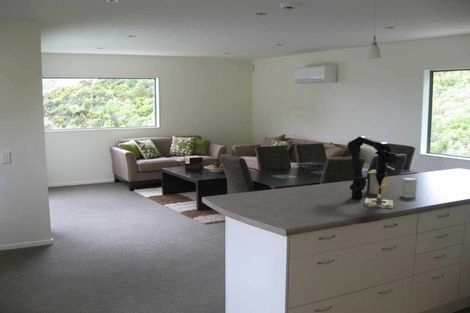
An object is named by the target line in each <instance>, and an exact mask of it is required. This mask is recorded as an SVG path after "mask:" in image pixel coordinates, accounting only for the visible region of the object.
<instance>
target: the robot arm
mask: <svg viewBox="0 0 470 313" xmlns="http://www.w3.org/2000/svg"><path fill="white" fill-rule="evenodd" d="M346 144H347V150H348V152H349V154H350V155H351V160H352V168H353V173H354V174H353V175H354V176H353V178H352V183H351V184H350V185H349V190H351V198H350V199H351V200H362V199H363V190H365V187H367V177H366V176H364V175H363V172H362V165H361V159H360V151H361V147H362V146H363V145H366V146H370V147H372V148H374V150H375V152H374V154H375V155H377V156H376V159H377V160H376V169H375V170H376V175H375V176H376V179H377V181H378V184H379V186H381V184H382V180H383V178H385V177H386V178H387V173H389V174H391V175H394V173H395V172H396V169H395V168H394V166H393V165H396V164H397V163H398V155H396V152H393V151H392V150H391V147H390V145H389V142H386V141H379V140H378V141H377V140H374V139H372V138H368V137H367V136H363V135H362V136H361V135H360V136H357V137H356V138H354V139H352V140H350V141H348V143H346ZM387 164H389V165H390V164H391V165H390V166H388V165H387Z"/></svg>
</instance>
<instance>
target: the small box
mask: <svg viewBox="0 0 470 313" xmlns="http://www.w3.org/2000/svg"><path fill="white" fill-rule="evenodd" d="M417 181H418V179H416V178H413V177H402V178H401V192H400V196H401V197H402V198H405V199H409V198H410V199H413V198H414V199H415V198H416V197H417V195H416V194H417V186H418V184H417Z"/></svg>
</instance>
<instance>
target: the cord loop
mask: <svg viewBox="0 0 470 313" xmlns="http://www.w3.org/2000/svg"><path fill="white" fill-rule="evenodd" d="M377 188H383V194H382V195H385V194H386V193H385V192H386V186H385V185H382V184H381V186H379V184H375V191H374V194H376V191H377ZM374 194H373V195H374Z"/></svg>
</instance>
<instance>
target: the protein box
mask: <svg viewBox="0 0 470 313" xmlns="http://www.w3.org/2000/svg"><path fill="white" fill-rule="evenodd" d="M375 175H376V169H371V170H370V171H368V172H367V178H366V182H367V183H366V194H368V195H374V191H375V184H378V181H377V179H376V176H375ZM386 182H387V176H386V177H385V178H383V180H382V185H385V187H386V186H387V185H386ZM378 194H381V196H382V195H384V194H383V188H377V191H376V194H375V196H376V195H377V196H378Z"/></svg>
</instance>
